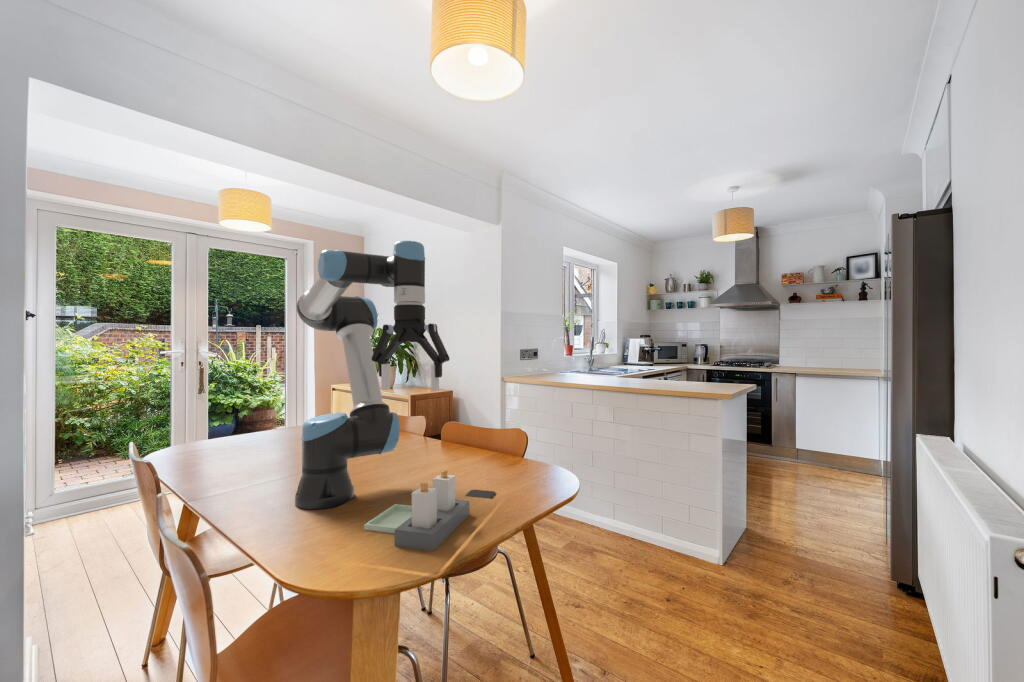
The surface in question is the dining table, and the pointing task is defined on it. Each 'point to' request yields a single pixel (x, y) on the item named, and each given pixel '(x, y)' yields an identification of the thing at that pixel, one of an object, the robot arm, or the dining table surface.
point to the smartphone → (481, 494)
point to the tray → (390, 519)
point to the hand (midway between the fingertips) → (410, 390)
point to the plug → (424, 507)
